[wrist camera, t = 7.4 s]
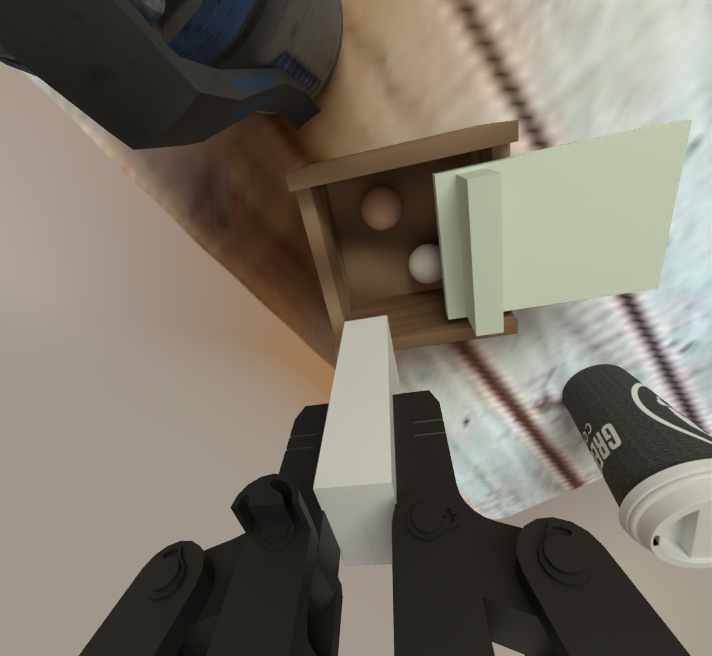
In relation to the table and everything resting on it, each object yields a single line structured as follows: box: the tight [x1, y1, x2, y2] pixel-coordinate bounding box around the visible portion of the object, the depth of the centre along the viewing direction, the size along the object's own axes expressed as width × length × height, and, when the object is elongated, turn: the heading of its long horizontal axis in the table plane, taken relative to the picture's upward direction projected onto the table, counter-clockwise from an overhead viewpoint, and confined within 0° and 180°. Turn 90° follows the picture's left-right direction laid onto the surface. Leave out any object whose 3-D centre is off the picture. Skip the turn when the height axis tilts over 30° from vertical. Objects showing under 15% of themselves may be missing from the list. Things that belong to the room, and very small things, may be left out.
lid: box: [432, 120, 692, 336], centre depth 20 cm, size 9×13×4 cm
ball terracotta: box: [361, 186, 403, 230], centre depth 27 cm, size 3×3×3 cm
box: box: [284, 120, 518, 358], centre depth 26 cm, size 13×13×8 cm
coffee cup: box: [563, 364, 712, 568], centre depth 29 cm, size 10×10×15 cm
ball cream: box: [409, 244, 442, 284], centre depth 28 cm, size 3×3×3 cm
